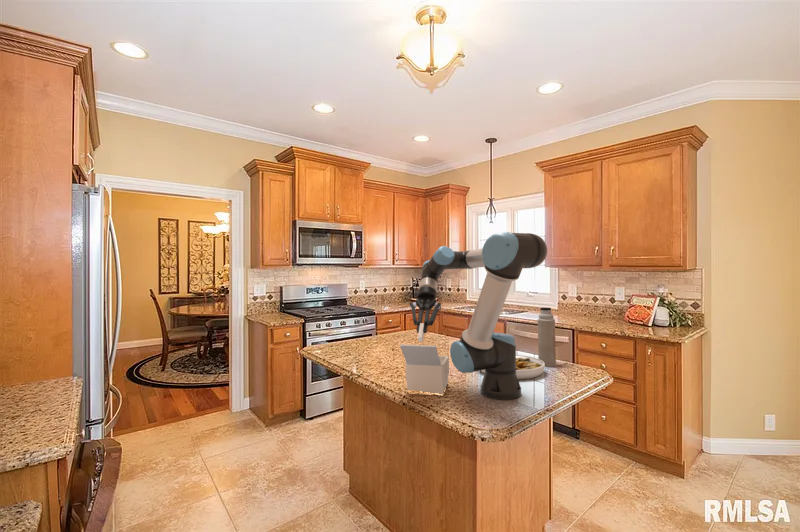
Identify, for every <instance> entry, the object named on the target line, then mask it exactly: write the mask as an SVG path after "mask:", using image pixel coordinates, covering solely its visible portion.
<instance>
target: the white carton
mask: <svg viewBox="0 0 800 532" xmlns="http://www.w3.org/2000/svg"><path fill="white" fill-rule="evenodd" d="M439 359H440V363H441V366H431V365H411V364H407V363H406V362H405V367H404V368H405V381H406V391H407V390H415V391H422V392H430V393H439V394H443V393H444V390H445V388H446V386H447V384H448V385H449V374H450V356H448V355H439ZM444 394H445V393H444Z"/></svg>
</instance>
